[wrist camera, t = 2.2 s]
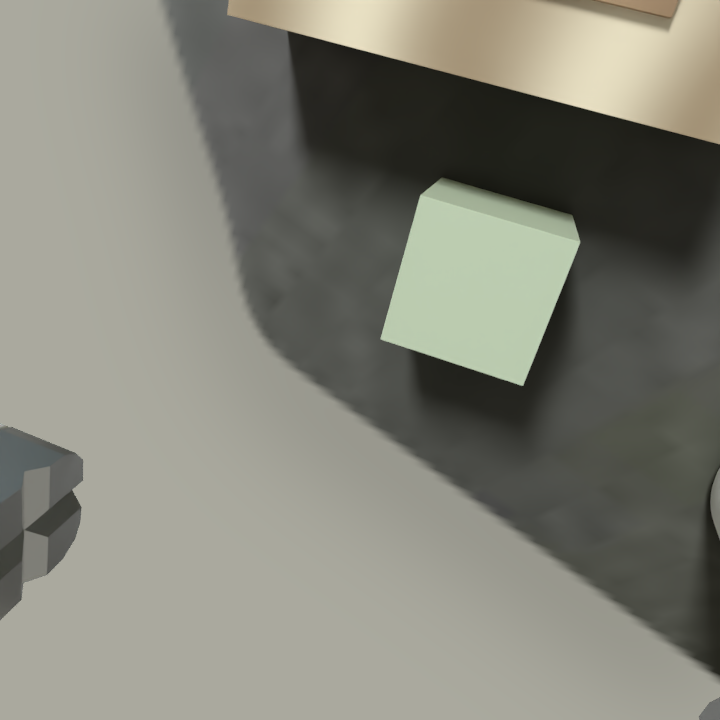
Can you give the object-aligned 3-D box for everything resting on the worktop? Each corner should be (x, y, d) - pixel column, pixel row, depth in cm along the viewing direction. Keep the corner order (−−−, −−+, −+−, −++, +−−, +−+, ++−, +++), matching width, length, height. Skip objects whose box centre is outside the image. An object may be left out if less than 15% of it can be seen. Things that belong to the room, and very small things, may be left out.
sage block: (572, 214, 23) (580, 242, 19) (525, 335, 25) (523, 385, 21) (442, 177, 24) (420, 195, 20) (407, 297, 26) (380, 339, 22)
